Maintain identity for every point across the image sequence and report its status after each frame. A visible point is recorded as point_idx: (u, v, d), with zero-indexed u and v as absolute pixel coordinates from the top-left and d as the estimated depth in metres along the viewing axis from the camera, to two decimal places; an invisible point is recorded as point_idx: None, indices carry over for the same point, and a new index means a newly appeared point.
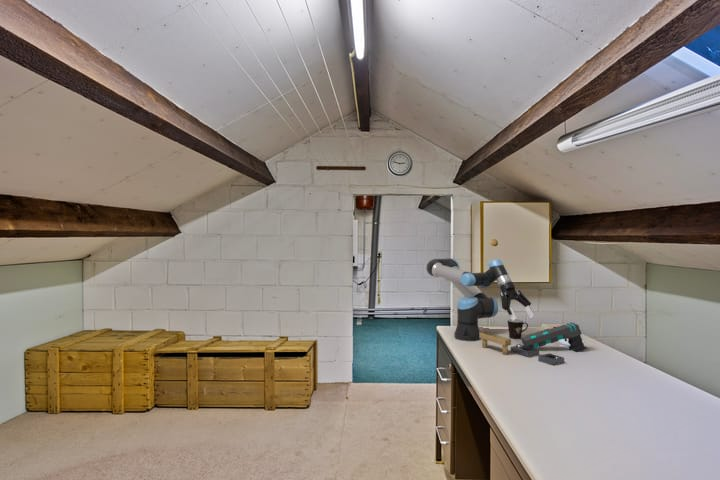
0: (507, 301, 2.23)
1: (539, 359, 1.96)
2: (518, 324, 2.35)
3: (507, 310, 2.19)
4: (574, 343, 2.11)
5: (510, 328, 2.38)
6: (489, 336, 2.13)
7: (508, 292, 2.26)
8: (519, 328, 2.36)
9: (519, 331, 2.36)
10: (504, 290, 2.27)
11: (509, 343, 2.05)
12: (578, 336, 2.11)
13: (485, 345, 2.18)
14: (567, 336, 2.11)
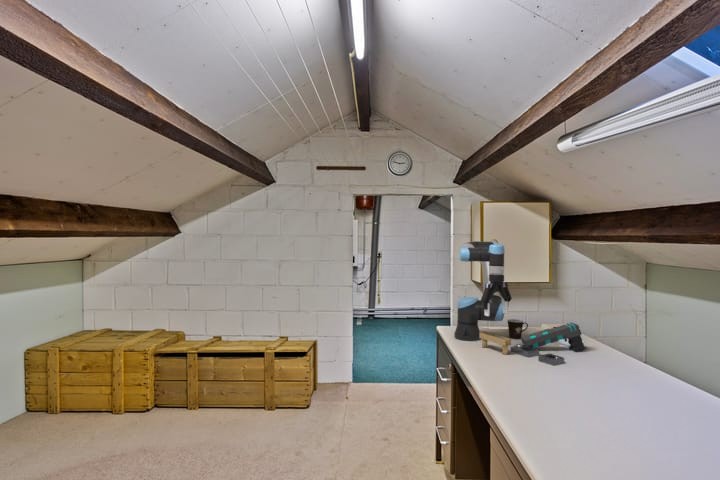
0: (489, 294, 2.10)
1: (539, 359, 1.96)
2: (518, 324, 2.35)
3: (484, 304, 2.09)
4: (574, 343, 2.11)
5: (510, 328, 2.38)
6: (489, 336, 2.13)
7: (494, 285, 2.11)
8: (519, 328, 2.36)
9: (519, 331, 2.36)
10: (491, 281, 2.11)
11: (509, 343, 2.05)
12: (578, 336, 2.11)
13: (485, 345, 2.18)
14: (567, 336, 2.11)
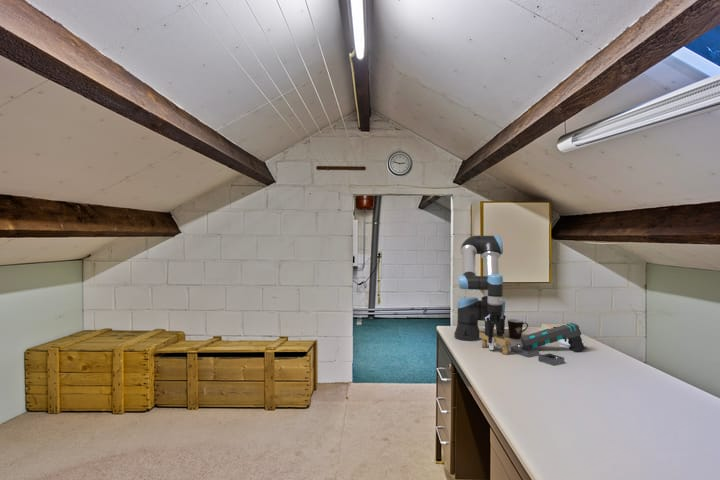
0: (490, 327, 2.11)
1: (539, 359, 1.96)
2: (518, 324, 2.35)
3: (488, 338, 2.11)
4: (574, 343, 2.11)
5: (510, 328, 2.38)
6: None
7: (492, 315, 2.10)
8: (519, 328, 2.36)
9: (519, 331, 2.36)
10: (490, 312, 2.11)
11: (509, 343, 2.05)
12: (578, 336, 2.10)
13: (485, 345, 2.18)
14: (567, 336, 2.11)
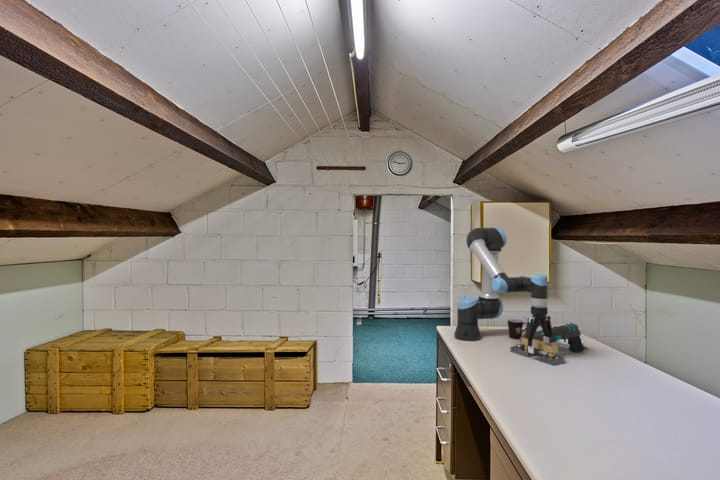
0: (532, 329, 1.98)
1: (539, 359, 1.96)
2: (518, 324, 2.35)
3: (528, 341, 1.98)
4: (573, 344, 2.10)
5: (510, 328, 2.38)
6: None
7: (537, 318, 1.98)
8: (519, 328, 2.36)
9: (519, 331, 2.36)
10: (534, 314, 1.98)
11: (555, 350, 1.93)
12: (578, 337, 2.10)
13: None
14: (566, 337, 2.10)
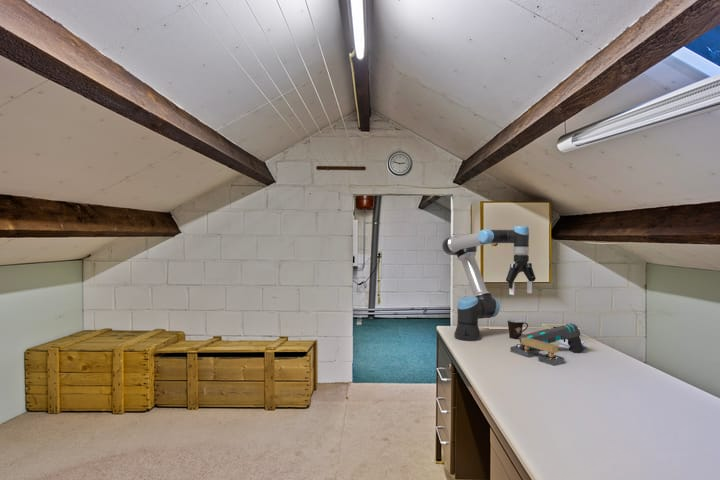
0: (513, 274, 2.17)
1: (539, 359, 1.96)
2: (518, 324, 2.35)
3: (509, 283, 2.16)
4: (572, 344, 2.09)
5: (510, 328, 2.38)
6: (533, 342, 2.01)
7: (519, 265, 2.18)
8: (519, 328, 2.36)
9: (519, 331, 2.36)
10: (516, 261, 2.18)
11: (555, 350, 1.93)
12: (577, 337, 2.09)
13: None
14: (565, 337, 2.10)
